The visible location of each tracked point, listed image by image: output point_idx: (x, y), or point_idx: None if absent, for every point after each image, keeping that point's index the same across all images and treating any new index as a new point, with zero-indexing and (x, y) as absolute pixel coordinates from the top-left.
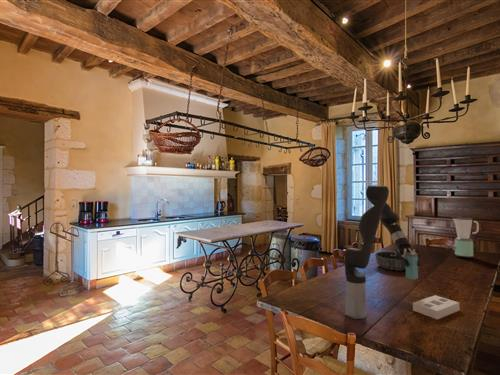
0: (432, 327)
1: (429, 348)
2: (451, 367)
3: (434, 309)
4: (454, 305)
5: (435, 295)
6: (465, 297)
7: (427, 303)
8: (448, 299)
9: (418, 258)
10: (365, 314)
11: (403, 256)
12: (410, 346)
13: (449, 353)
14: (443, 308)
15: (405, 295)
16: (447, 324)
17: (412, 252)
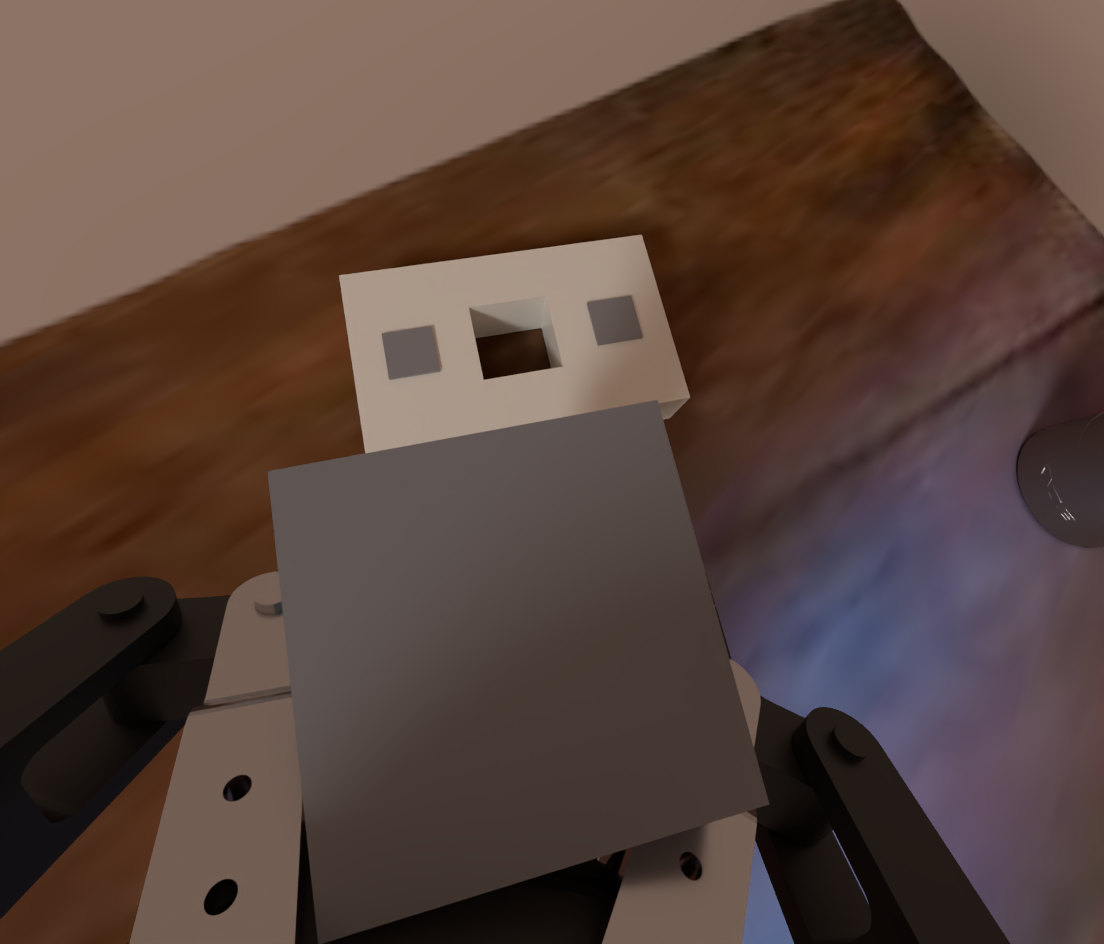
0: (732, 219)
1: (891, 106)
2: (901, 9)
3: (635, 258)
4: (415, 269)
5: (369, 451)
6: (12, 471)
7: (600, 341)
8: (353, 348)
9: (225, 597)
10: (1057, 427)
11: None
12: (959, 143)
13: (839, 58)
14: (559, 248)
15: None
16: (623, 213)
17: (313, 754)
